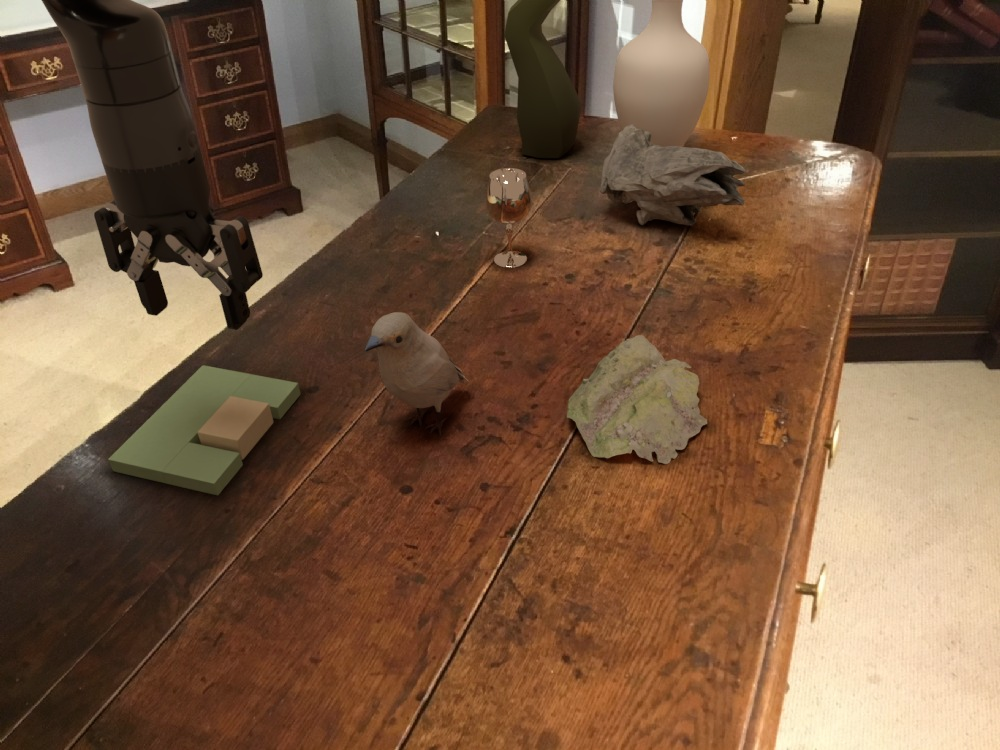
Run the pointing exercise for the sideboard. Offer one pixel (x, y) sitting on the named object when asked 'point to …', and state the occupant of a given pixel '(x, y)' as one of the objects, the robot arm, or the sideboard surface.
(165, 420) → the green c-shaped block
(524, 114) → the tentacle
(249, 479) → the sideboard surface
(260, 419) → the cream pad
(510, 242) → the wineglass
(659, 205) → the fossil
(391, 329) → the bird
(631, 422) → the mossy green rock
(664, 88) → the vase
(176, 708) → the sideboard surface
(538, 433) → the sideboard surface
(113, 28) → the robot arm
